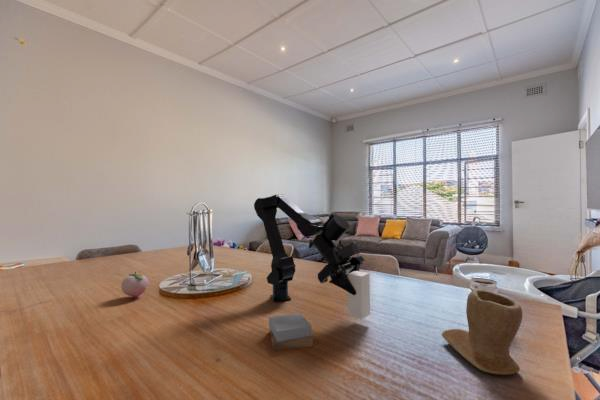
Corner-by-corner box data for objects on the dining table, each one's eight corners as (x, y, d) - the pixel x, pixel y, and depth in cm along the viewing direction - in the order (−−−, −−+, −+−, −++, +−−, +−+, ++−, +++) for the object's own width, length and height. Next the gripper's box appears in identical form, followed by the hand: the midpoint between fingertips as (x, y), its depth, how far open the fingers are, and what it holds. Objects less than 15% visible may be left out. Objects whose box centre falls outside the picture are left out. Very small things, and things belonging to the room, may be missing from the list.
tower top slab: (269, 326, 75) (268, 317, 75) (300, 321, 78) (299, 312, 78) (277, 342, 67) (277, 331, 67) (311, 335, 70) (311, 325, 70)
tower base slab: (270, 333, 76) (270, 324, 77) (305, 330, 78) (305, 321, 78) (272, 352, 67) (272, 342, 67) (312, 348, 68) (312, 338, 68)
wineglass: (490, 329, 76) (489, 285, 76) (465, 320, 82) (464, 279, 82) (503, 323, 79) (502, 282, 79) (479, 315, 85) (478, 276, 85)
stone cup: (539, 379, 54) (537, 303, 54) (479, 380, 54) (478, 304, 54) (487, 341, 69) (485, 281, 70) (440, 341, 69) (439, 282, 70)
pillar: (348, 314, 80) (347, 273, 80) (356, 310, 83) (355, 270, 84) (362, 319, 77) (361, 276, 77) (369, 314, 80) (369, 273, 80)
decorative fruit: (115, 300, 103) (115, 273, 104) (136, 293, 111) (135, 268, 111) (133, 303, 100) (132, 275, 100) (152, 296, 108) (152, 270, 108)
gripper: (325, 236, 77) (360, 283, 69) (359, 230, 91) (391, 269, 83) (304, 261, 82) (335, 307, 75) (339, 252, 96) (368, 290, 88)
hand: (359, 292), depth 80 cm, fingers closed on pillar, 5 cm apart
